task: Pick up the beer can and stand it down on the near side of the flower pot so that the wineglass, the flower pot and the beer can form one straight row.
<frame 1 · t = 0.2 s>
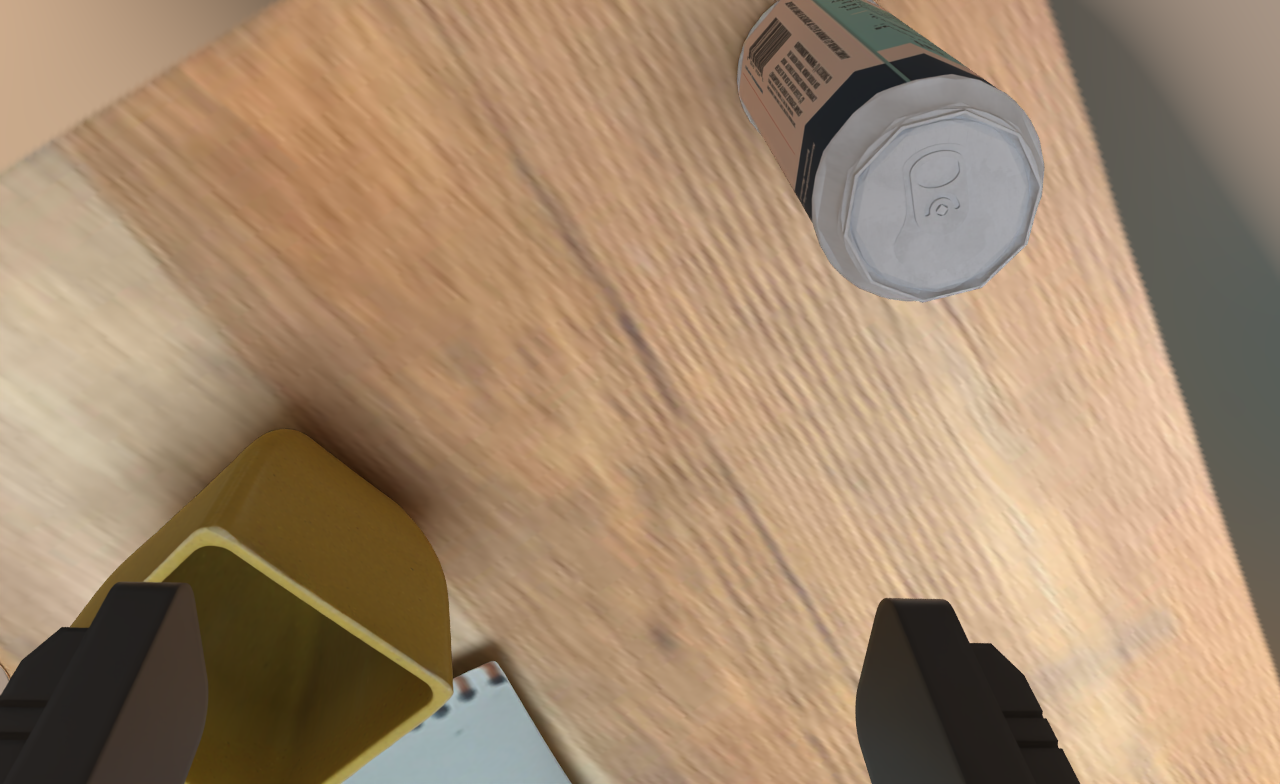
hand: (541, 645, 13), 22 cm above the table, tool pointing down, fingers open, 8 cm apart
beer can: (813, 66, 32), on the table
flower pot: (305, 507, 38), on the table
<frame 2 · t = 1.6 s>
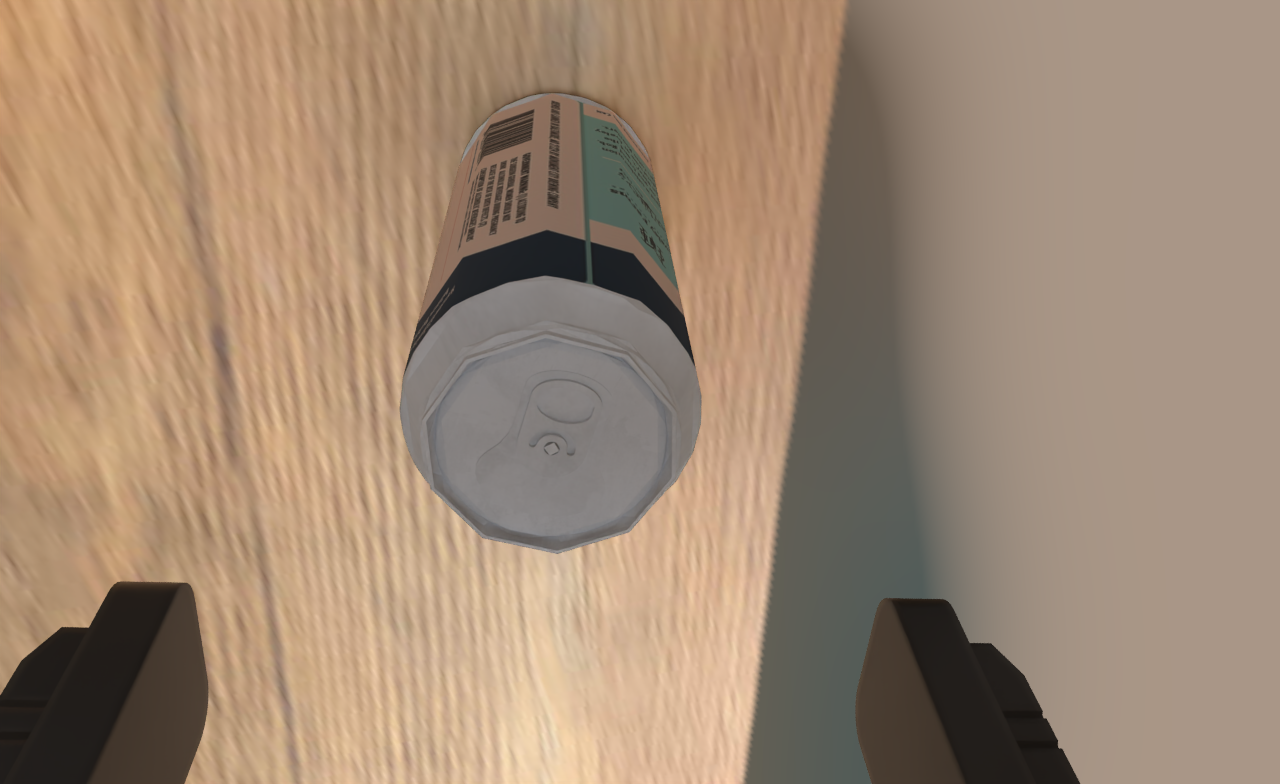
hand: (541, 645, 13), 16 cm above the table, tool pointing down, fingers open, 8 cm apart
beer can: (556, 181, 27), on the table
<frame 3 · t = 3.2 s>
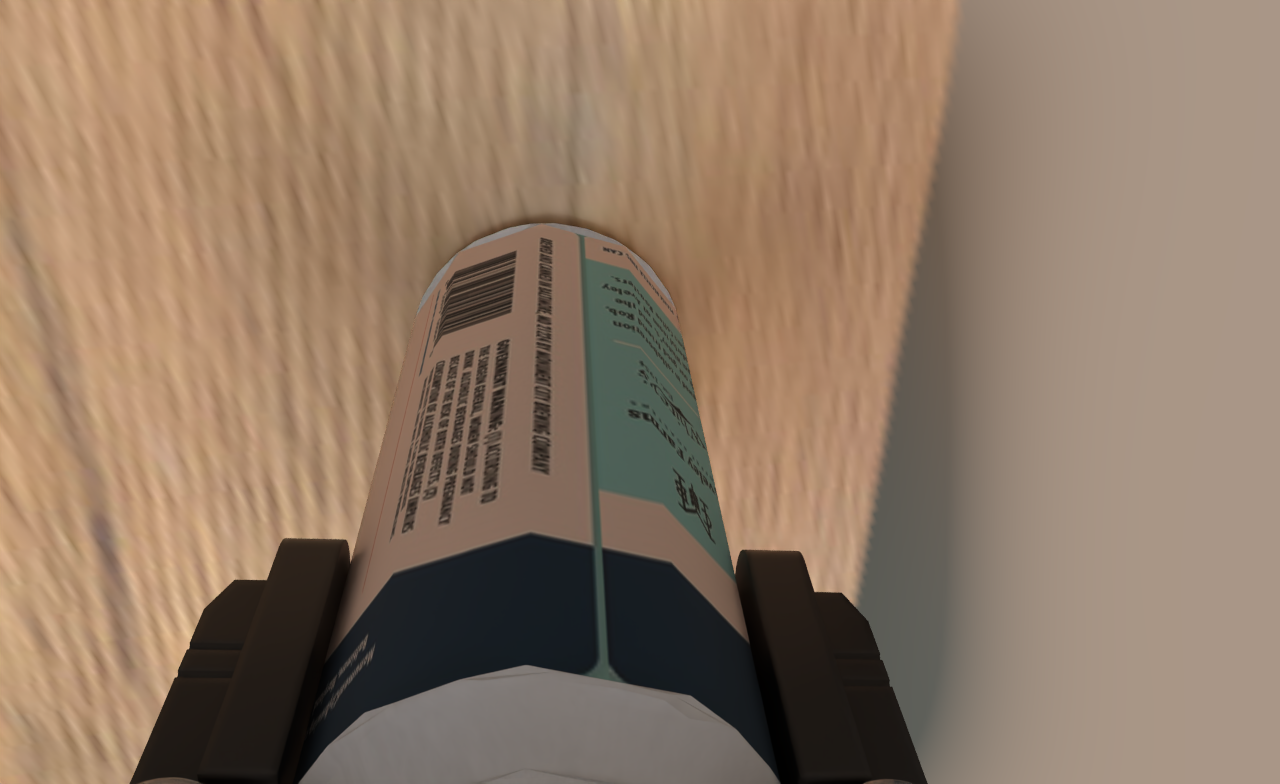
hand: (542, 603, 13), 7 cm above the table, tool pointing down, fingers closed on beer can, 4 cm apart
beer can: (548, 330, 20), on the table, touching gripper
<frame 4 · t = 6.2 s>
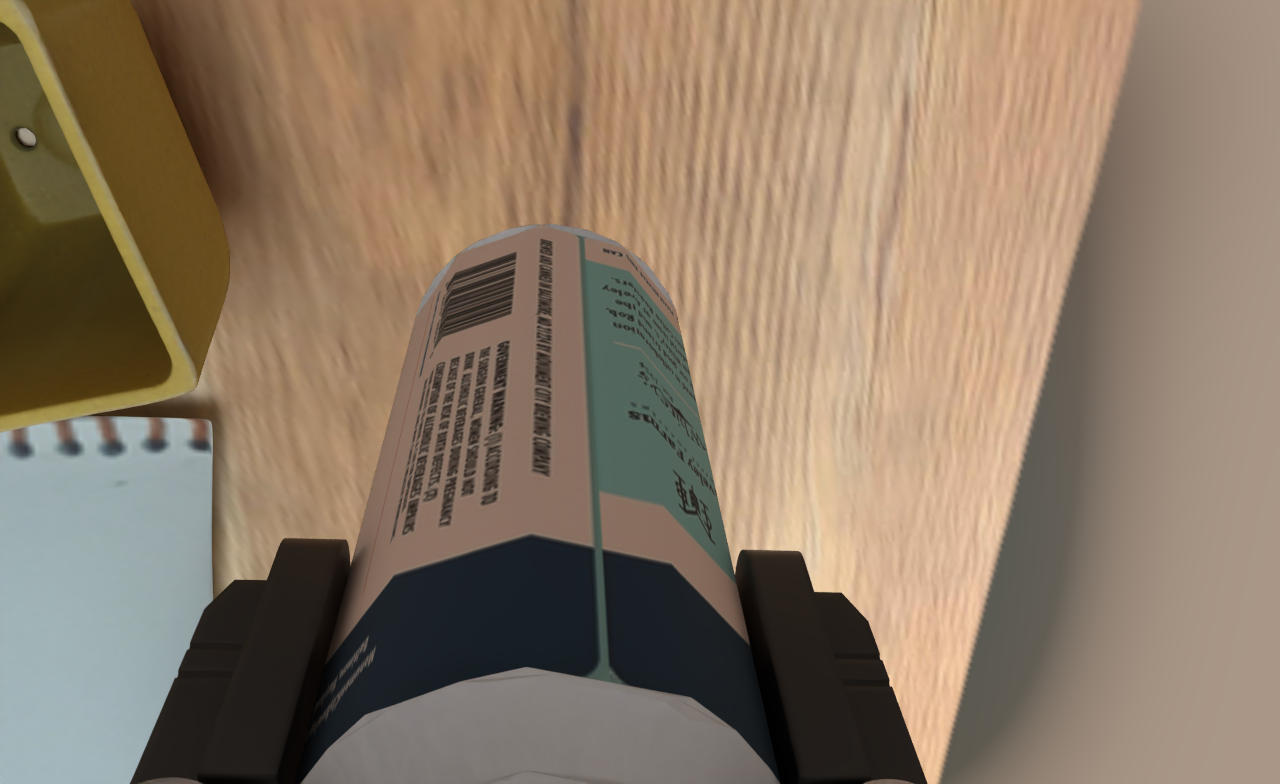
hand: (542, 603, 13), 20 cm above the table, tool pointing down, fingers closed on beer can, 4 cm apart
beer can: (548, 331, 20), point 12 cm above the table, touching gripper
flower pot: (84, 123, 29), on the table
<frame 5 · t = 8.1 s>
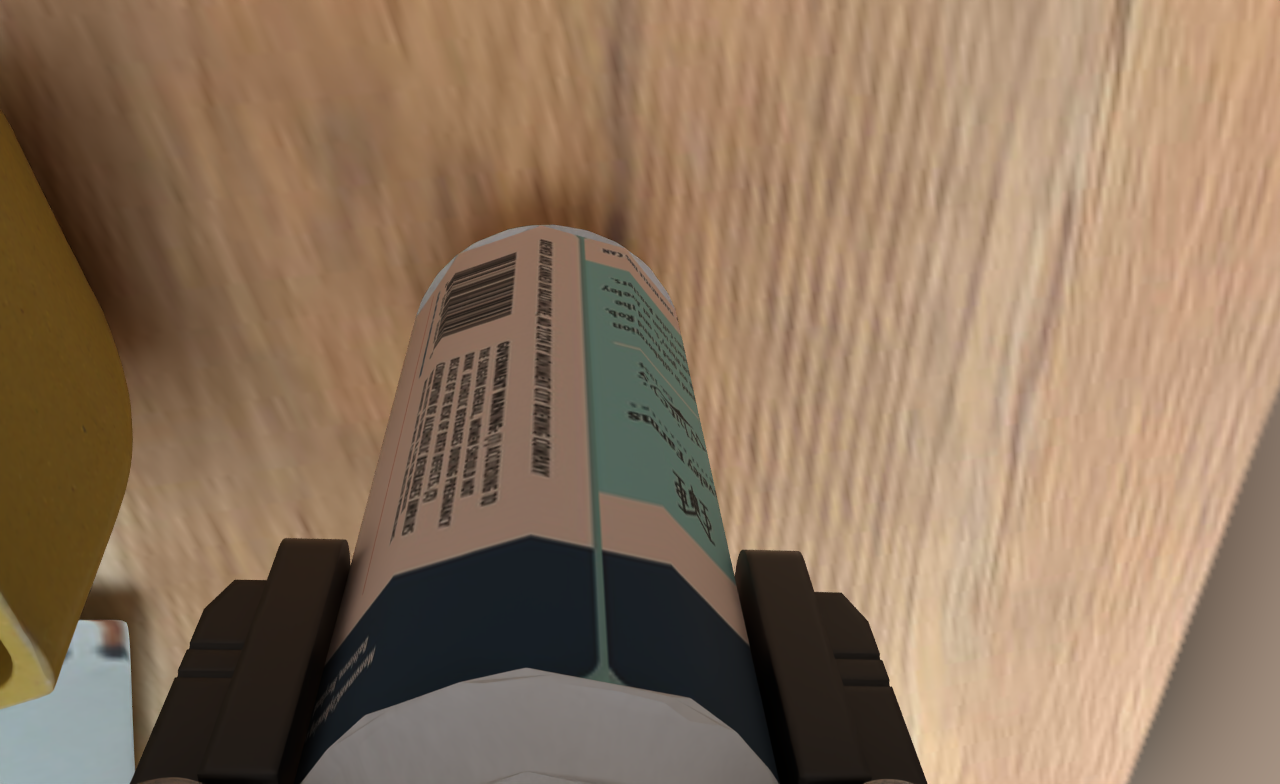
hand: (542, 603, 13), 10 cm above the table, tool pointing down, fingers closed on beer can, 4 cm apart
beer can: (548, 332, 20), point 3 cm above the table, touching gripper
when the fingers open (7 cm above the table, at t = 9.3 s): beer can stays where it is, on the table.
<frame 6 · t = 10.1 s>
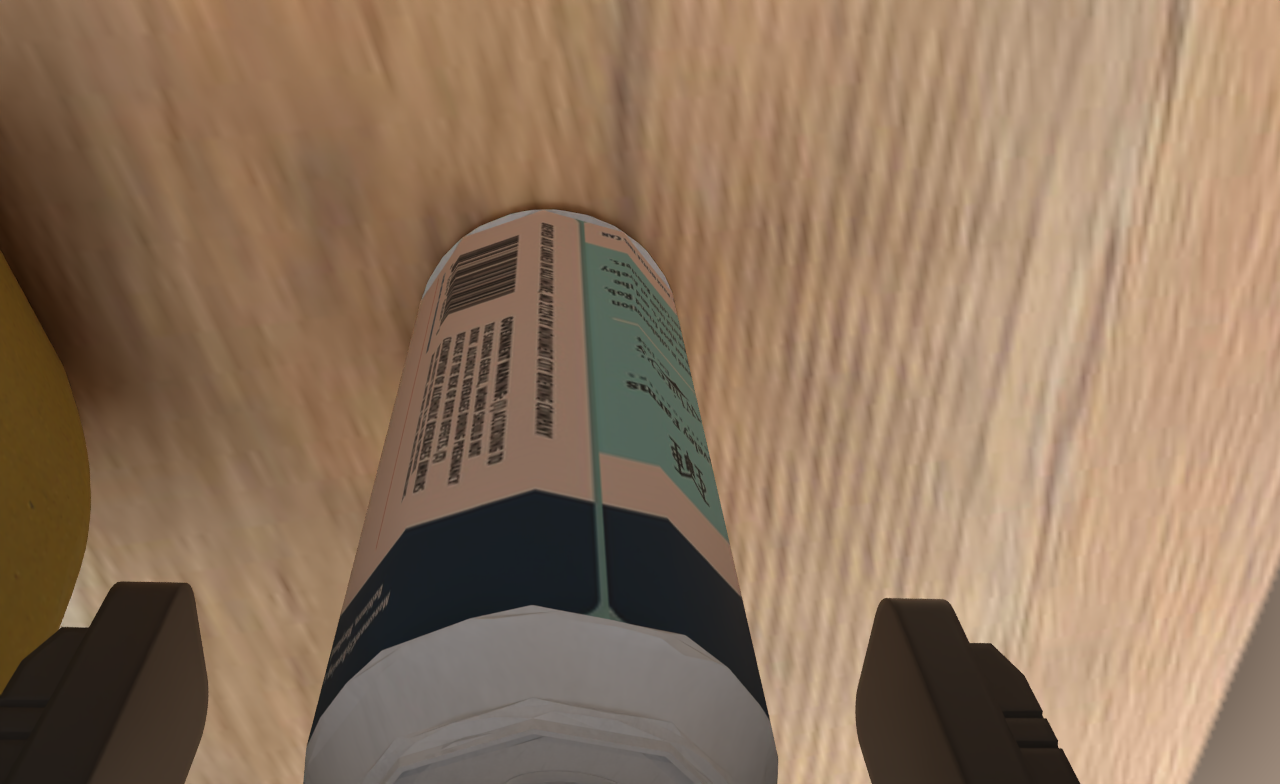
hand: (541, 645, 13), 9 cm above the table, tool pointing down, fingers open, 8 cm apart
beer can: (549, 314, 21), on the table
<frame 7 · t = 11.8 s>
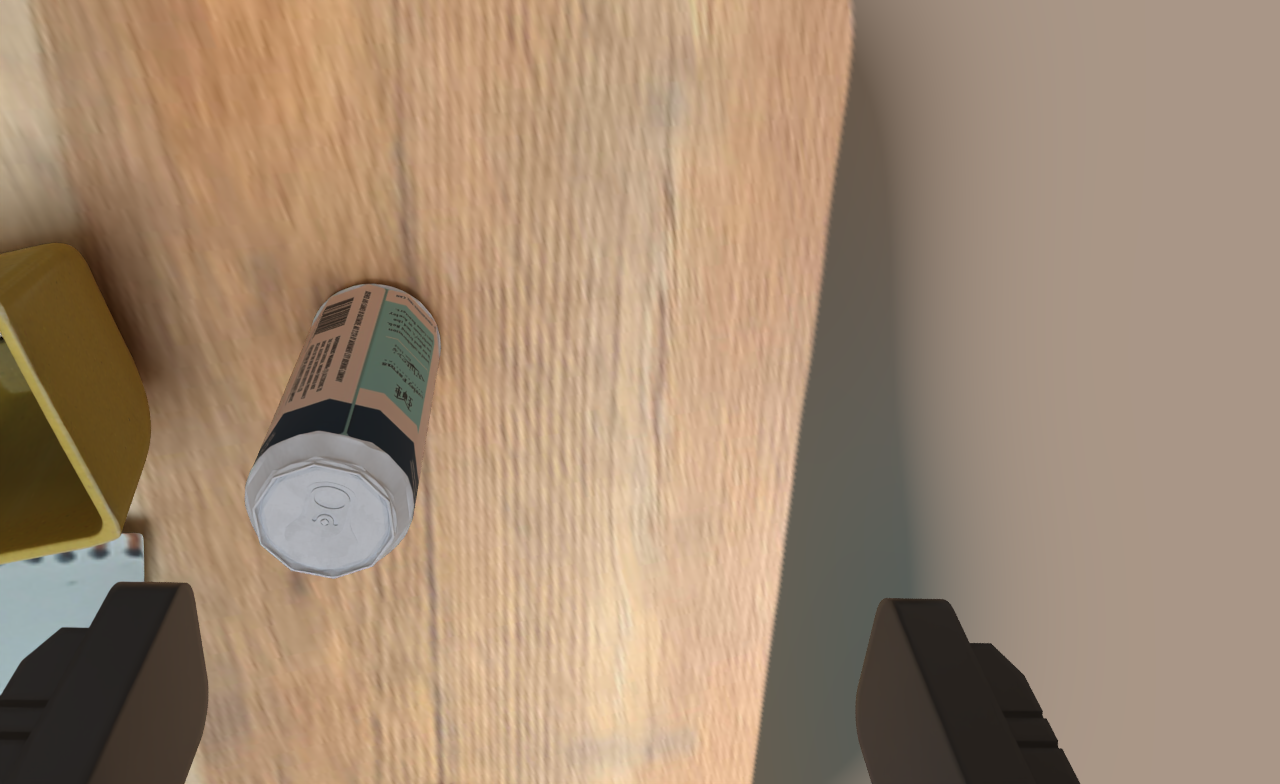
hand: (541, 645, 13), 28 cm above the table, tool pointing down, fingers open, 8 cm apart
beer can: (378, 334, 41), on the table
flower pot: (43, 321, 40), on the table
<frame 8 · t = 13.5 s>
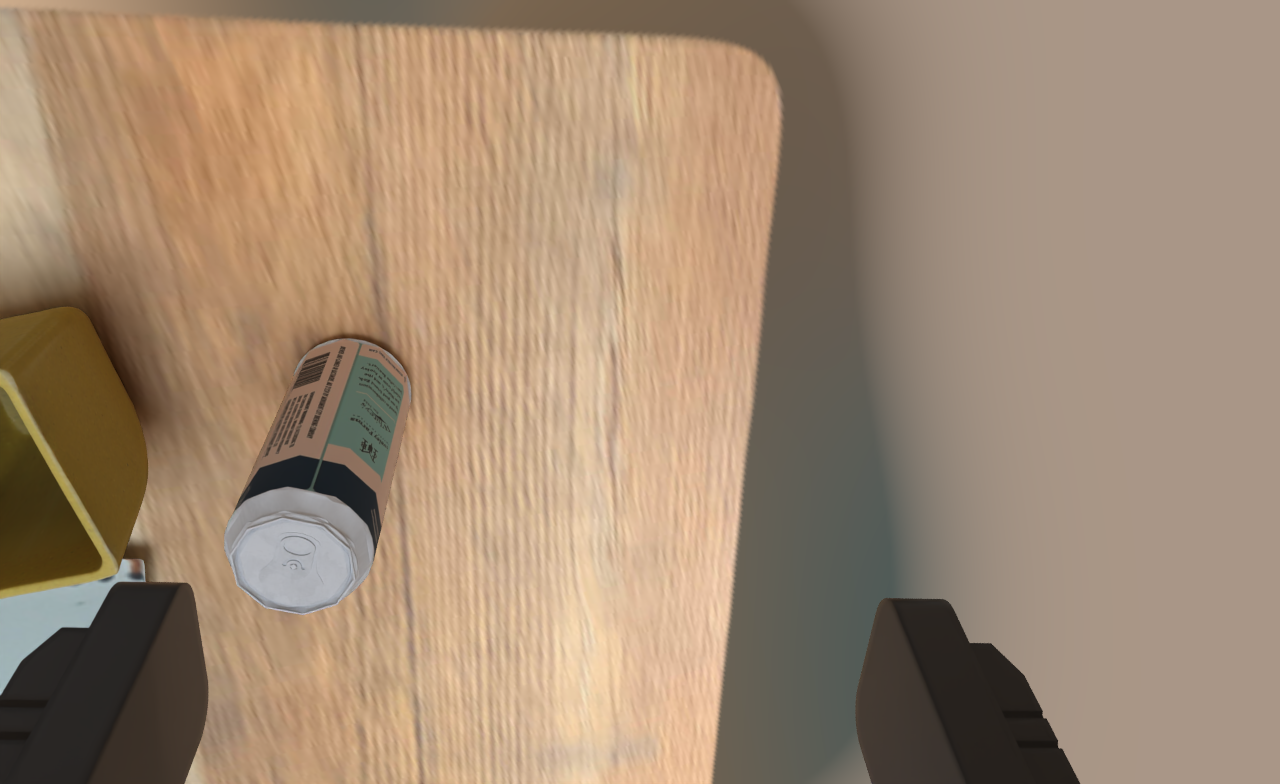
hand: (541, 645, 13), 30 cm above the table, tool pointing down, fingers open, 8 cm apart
beer can: (355, 381, 45), on the table
flower pot: (52, 370, 44), on the table
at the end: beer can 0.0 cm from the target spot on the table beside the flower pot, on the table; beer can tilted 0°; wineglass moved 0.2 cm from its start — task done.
